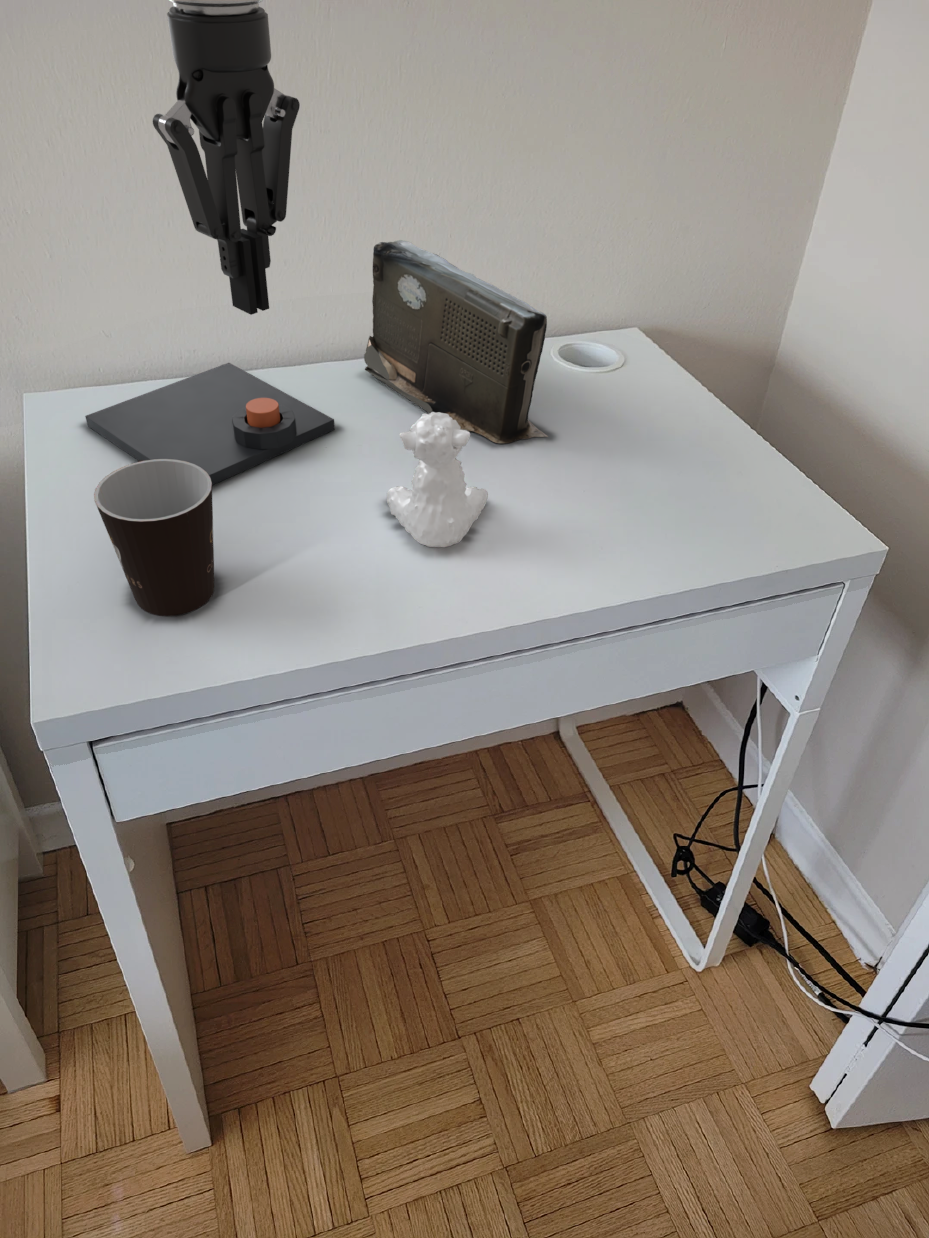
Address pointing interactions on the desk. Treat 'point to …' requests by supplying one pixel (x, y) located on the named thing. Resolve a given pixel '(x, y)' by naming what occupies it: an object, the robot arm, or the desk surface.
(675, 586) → the desk surface
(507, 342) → the radio
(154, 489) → the coffee mug
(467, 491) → the sitting furry creature
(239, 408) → the scale
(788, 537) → the desk surface
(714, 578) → the desk surface
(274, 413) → the button
